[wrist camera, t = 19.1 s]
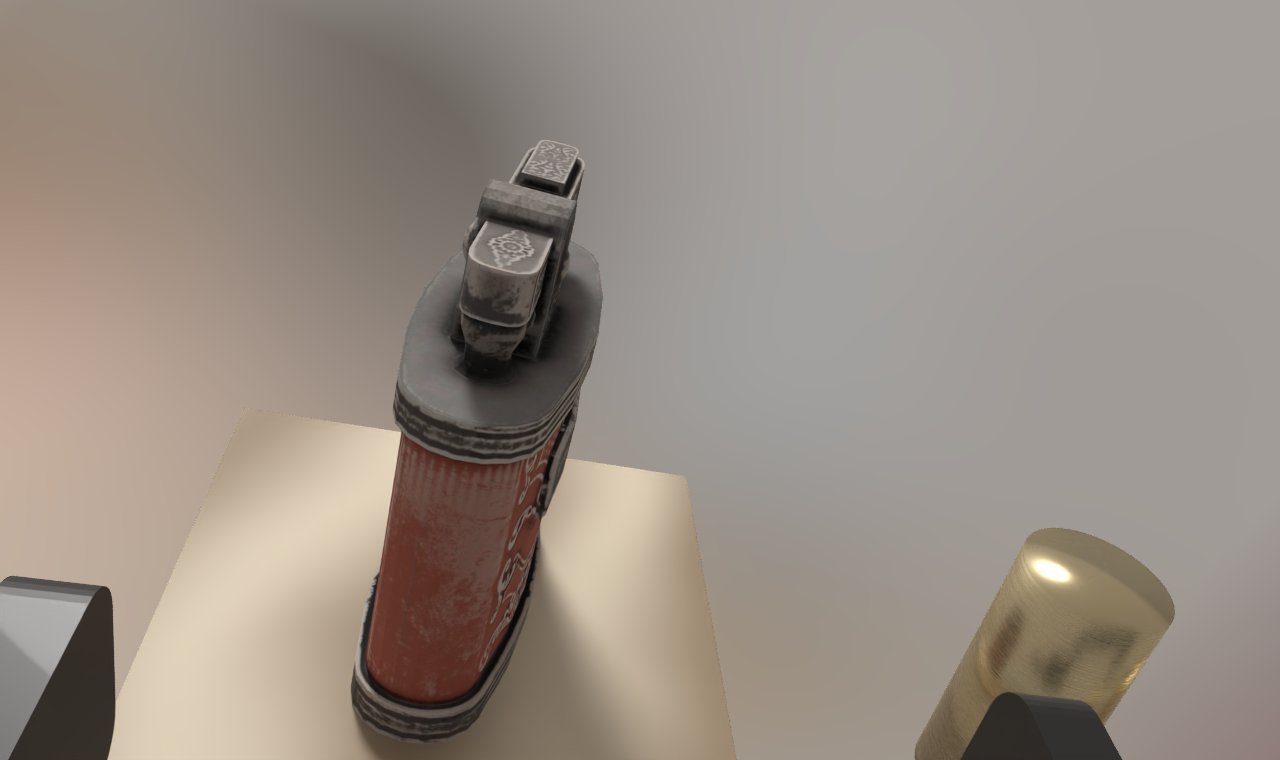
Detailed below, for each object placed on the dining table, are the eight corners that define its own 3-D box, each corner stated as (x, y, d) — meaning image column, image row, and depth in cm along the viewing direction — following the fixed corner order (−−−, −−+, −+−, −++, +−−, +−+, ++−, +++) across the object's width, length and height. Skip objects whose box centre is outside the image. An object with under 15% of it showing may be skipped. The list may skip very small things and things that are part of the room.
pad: (680, 493, 31) (686, 476, 31) (744, 877, 21) (753, 857, 20) (243, 426, 29) (244, 407, 29) (75, 818, 19) (74, 796, 18)
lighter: (487, 763, 21) (601, 308, 16) (313, 720, 21) (374, 249, 16) (555, 513, 28) (648, 144, 23) (425, 480, 28) (492, 102, 23)
